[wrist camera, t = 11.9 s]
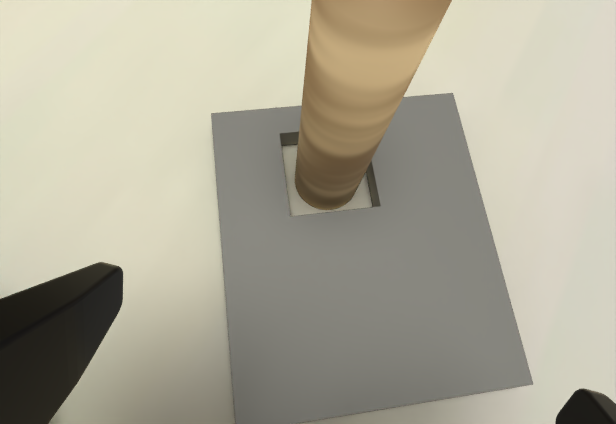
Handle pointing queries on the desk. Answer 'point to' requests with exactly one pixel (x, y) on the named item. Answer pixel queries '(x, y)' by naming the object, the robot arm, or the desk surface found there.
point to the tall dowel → (355, 87)
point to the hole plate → (361, 275)
